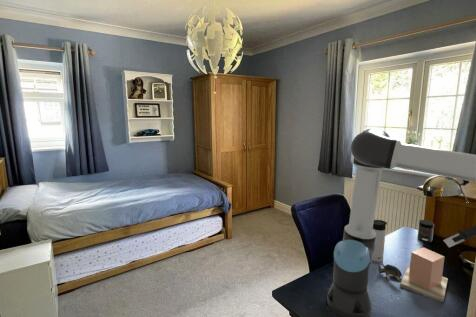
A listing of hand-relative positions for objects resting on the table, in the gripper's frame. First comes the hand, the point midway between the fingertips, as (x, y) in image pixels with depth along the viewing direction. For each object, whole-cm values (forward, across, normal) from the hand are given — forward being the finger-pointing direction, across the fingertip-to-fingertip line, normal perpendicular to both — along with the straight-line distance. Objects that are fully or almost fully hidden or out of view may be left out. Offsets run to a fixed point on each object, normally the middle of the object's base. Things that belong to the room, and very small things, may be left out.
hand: (456, 239), depth 95 cm
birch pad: (+24, +2, -9) cm, 26 cm away
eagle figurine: (+31, -6, -3) cm, 32 cm away
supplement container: (+37, +41, +6) cm, 56 cm away
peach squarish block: (+23, +2, -8) cm, 25 cm away
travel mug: (+38, 0, +6) cm, 39 cm away
